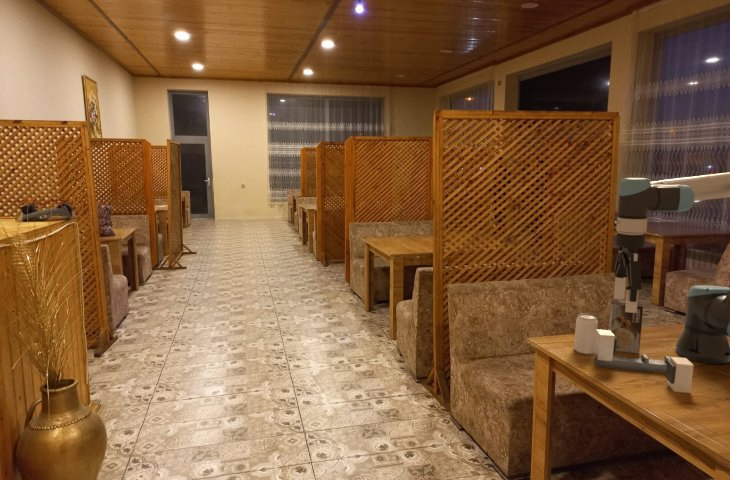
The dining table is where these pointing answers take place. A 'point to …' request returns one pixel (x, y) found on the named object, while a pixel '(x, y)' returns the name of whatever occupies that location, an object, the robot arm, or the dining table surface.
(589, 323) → the can
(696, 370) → the dining table surface
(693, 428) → the dining table surface
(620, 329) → the coffee box
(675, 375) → the white block
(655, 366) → the rail
